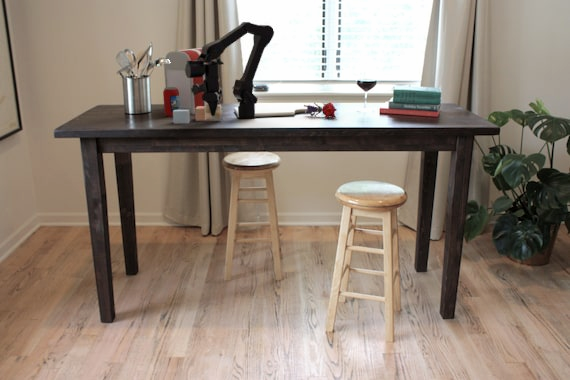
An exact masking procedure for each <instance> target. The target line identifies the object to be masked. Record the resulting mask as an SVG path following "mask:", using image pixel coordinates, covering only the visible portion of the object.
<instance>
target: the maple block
mask: <svg viewBox="0 0 570 380" xmlns="http://www.w3.org/2000/svg"><path fill="white" fill-rule="evenodd" d="M205 111H206V118H207V119H221V118H222V117H223V113H222V104H219V105H218V106H217V109H216V112H215V115H214V116H212V115H211V112H210V108H209V105H206V106H205Z"/></svg>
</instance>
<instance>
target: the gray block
mask: <svg viewBox="0 0 570 380" xmlns="http://www.w3.org/2000/svg"><path fill="white" fill-rule="evenodd" d="M190 115H191V114H190V111H189V110H174V111H173V117H172V119H173V124H189V123H190V122H191V116H190Z"/></svg>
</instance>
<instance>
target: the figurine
mask: <svg viewBox="0 0 570 380" xmlns="http://www.w3.org/2000/svg"><path fill="white" fill-rule="evenodd" d="M313 104H314V105H315V106H314V105H310V104H309V105H306V104H304V105H303V107H306V108H307V109H306V110H307V111H306V110H304V114H307V113H309V114H310V117H313V116H314V117H317V116H318V115H319V114H321V113H322V114H323V115H324V119H327V118H328V117H331V118H335V119H336V118H337V117H336V115H335V112H337V108H336V107H335V106H334V104H333V103H332V102H328V103H324V102H322V104H323V106H320V105H318V104H316V103H315V102H313Z"/></svg>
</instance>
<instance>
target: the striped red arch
mask: <svg viewBox="0 0 570 380" xmlns="http://www.w3.org/2000/svg"><path fill="white" fill-rule="evenodd" d="M201 52H202V47H200V48H199V47H198V48H197V47H196V48H189V49H177V50H176V49H175V50H174V51H169V52H167V53H166V55H165V57H164V60H165V59H169V60H170V62H171V63H170V64H164V63H163V68H164V69H163V70H164V72H163V73H164V84H165V87H164V88H167V87H177V89H178V91H179V98H180V110H189V111H190V115H195V108H196V107H197V106H206V105H208V103H207V102H205V101H203V100H202V95H203V94H204V91H203V92H201V93H198V94H197V95H193V92H191V91H192V90H191V88H192V87H193V85H195V84H198V85H199V84H201V83H203V81H204V79H205V74H204V75H203V76H202V77H197V78H187V76H186V73H185V68H186V64H187V60H191V61H196V60H197V59H198V57H199V56H200V54H201ZM215 60H216V59H215ZM215 60H212V61H215ZM204 64H206V63H204Z"/></svg>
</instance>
